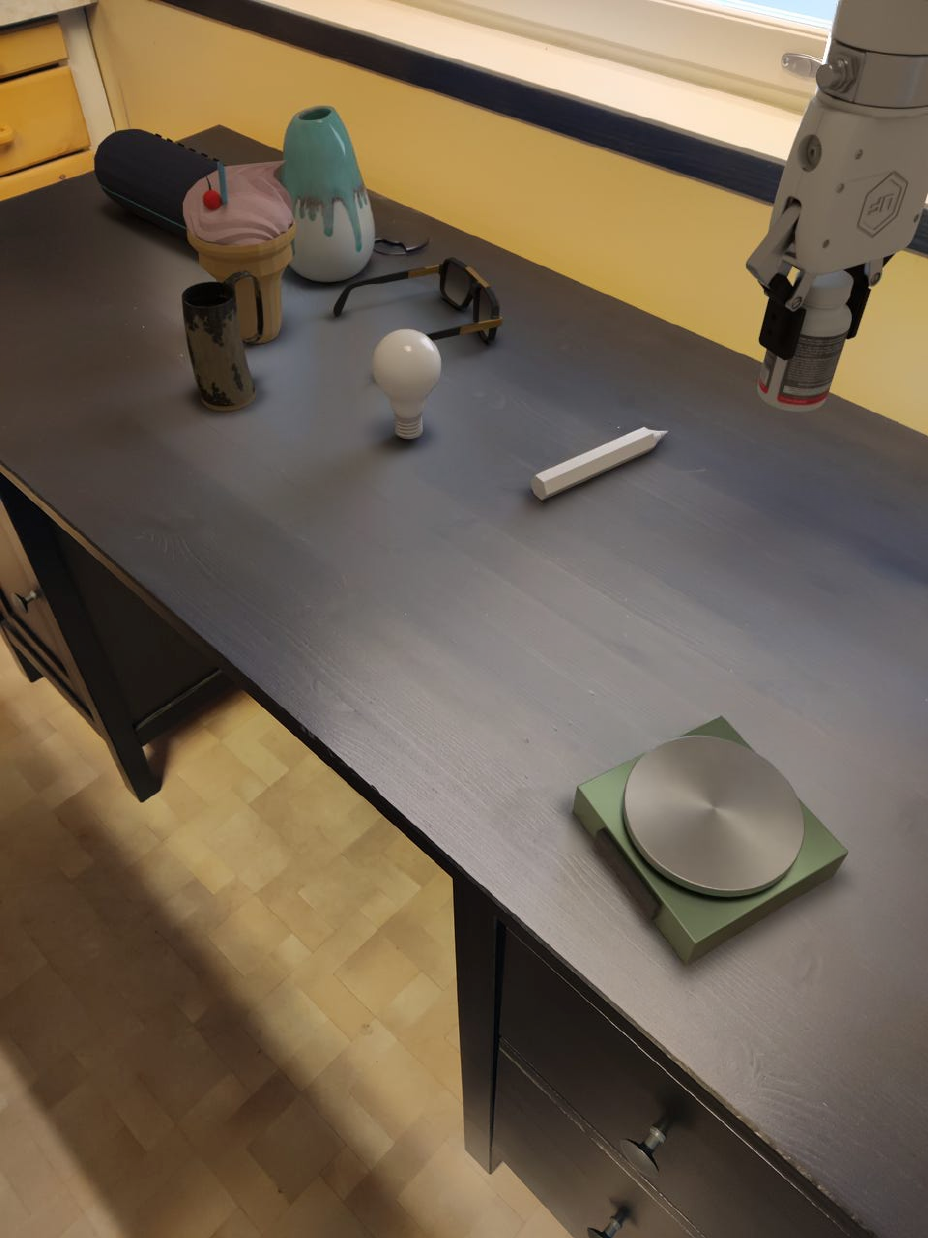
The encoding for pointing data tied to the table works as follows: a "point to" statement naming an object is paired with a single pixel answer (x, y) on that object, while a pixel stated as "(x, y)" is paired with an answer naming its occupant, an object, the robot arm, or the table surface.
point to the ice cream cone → (244, 236)
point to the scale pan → (713, 816)
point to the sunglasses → (449, 296)
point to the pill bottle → (811, 348)
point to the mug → (220, 342)
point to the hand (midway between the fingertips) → (806, 338)
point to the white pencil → (594, 462)
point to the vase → (326, 198)
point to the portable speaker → (150, 175)
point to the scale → (679, 910)
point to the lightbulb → (406, 376)
